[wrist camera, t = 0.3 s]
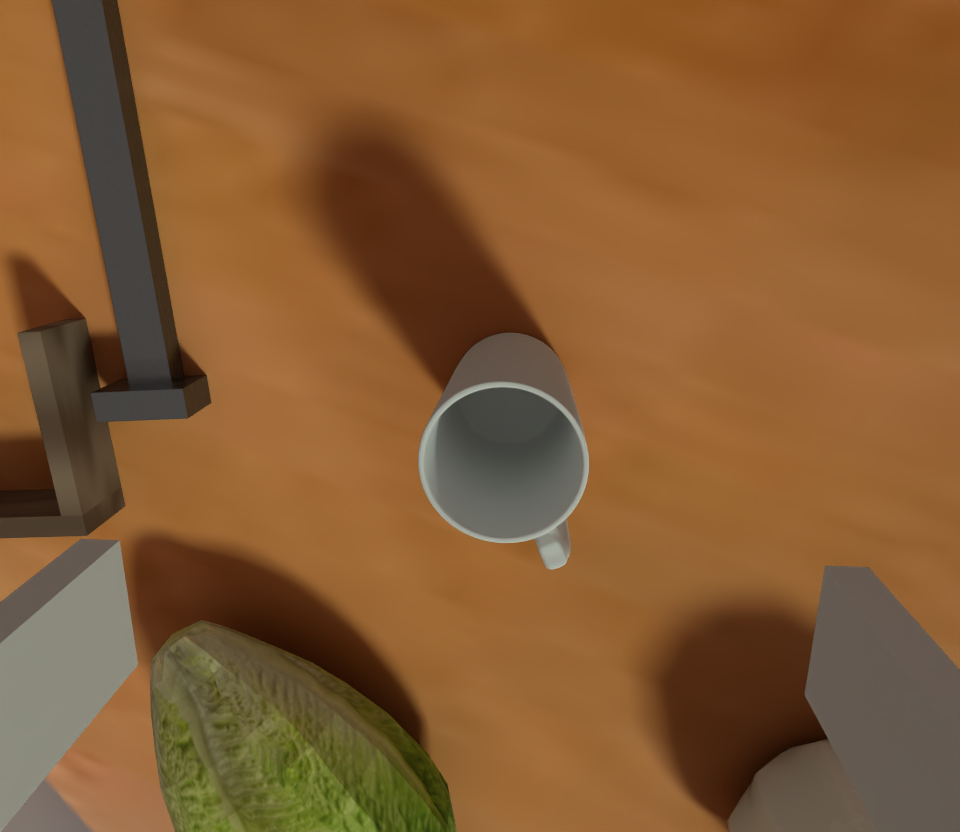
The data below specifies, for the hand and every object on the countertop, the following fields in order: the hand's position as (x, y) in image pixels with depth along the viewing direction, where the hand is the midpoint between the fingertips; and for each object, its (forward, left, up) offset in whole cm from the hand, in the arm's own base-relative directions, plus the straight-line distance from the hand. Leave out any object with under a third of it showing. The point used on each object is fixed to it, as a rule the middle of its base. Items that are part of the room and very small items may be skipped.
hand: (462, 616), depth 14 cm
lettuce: (+24, -13, -28) cm, 39 cm away
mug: (+4, +1, -28) cm, 28 cm away
